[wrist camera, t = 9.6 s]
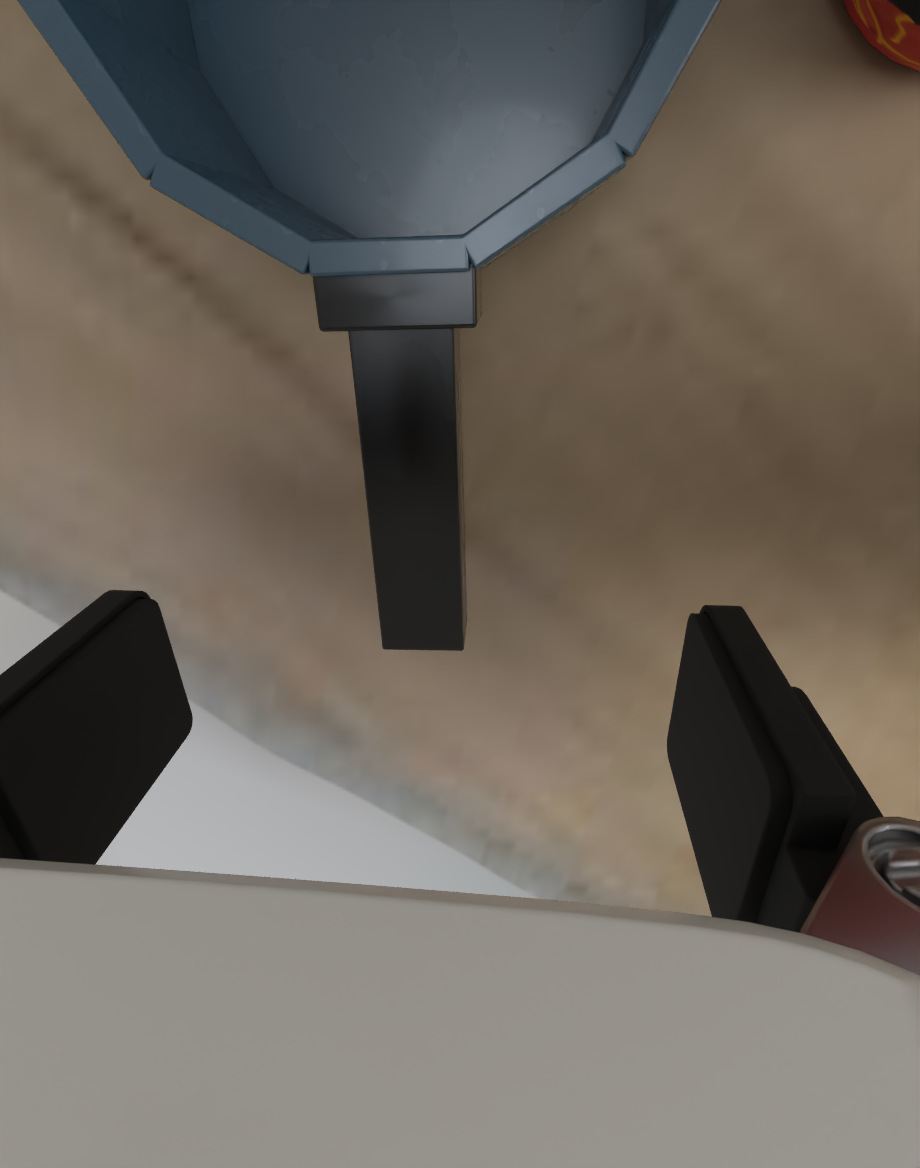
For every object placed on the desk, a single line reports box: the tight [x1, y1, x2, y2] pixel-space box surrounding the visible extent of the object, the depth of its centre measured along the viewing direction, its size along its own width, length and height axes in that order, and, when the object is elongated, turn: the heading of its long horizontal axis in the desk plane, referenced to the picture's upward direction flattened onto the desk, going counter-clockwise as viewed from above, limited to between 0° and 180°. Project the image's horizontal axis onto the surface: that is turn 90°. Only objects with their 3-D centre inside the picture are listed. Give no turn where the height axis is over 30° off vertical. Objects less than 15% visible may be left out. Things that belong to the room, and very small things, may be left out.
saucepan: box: [17, 0, 721, 651], centre depth 13 cm, size 12×21×6 cm, turn 1°
